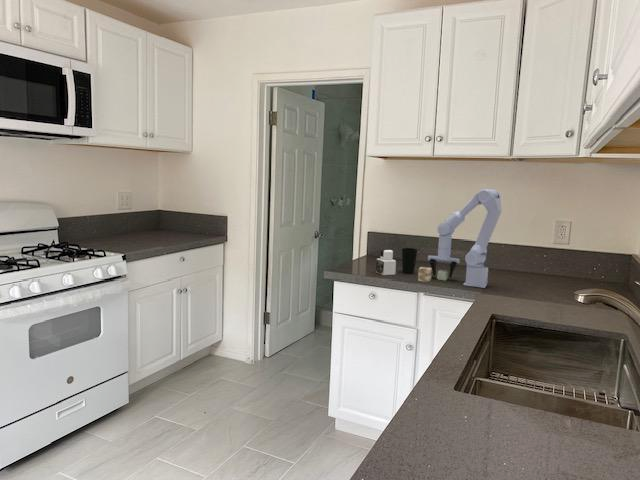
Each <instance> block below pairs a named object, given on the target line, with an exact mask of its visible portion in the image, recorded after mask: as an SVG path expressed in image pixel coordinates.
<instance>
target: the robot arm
mask: <svg viewBox="0 0 640 480" xmlns="http://www.w3.org/2000/svg"><path fill="white" fill-rule="evenodd" d="M501 198H502V197H501V194H500V193H499V191H498V190H497V189H494V188H489V189H488V188H482V189H480V190H479V191H478V192H477V193H475V194H474V196H473V197H472V198H471V199H469V201H468V202H467V203H466V204H465V205H464V206H463V207H462V208H461V209H460V210H459V211H455V212H451V213H450V214H451V215H450V216H449V217H448V218H447V219H444V222H441V223H439V224H438V227H437V233H438V235H439V236H438V247H437V248H438V249H437V255H427V260H428V261H429V265H430V266H431V267H430V268H432V276H434V277H435V276H437V274H436V273H437V271H436V270H437V263H438V262H439V261H440V262H447V263H450V264H449V266H450V267H449V271H450V272H449V278H451V279H452V277H453V273H454V272H455V271H454V270H456V269H455V268H456V267H457V265H458V264H460V263H461V262H460V258H458V257H451V252H452V251H451V249H452V237H453V234H454V233H455V230H456V229H457V228H458V227H459V226H460V225H461V224H462V223H464V222H465V220H466V219H465V218H466V216H467V215H469V214H470V213H471V212H472V211H473V210H474V209H476V207H478V206H480V205H482V206H483V207H484V208H485V209H486V212H487V213H486V215H485V219H484V221H483V223H482V225H481V228H480V231H479V233H478V236H477V238H476V241H475V243H474V245H473V246H472V247H471V248H470V250H469V252H468V253H466V255H465V257H464V260H465V263H466V273H465V282H464V283H463V284H462V285H463V286H467V287H473V288H474V287H475V288H476V287H477V288H481V289H482V288H483V289H485V288H486V287H487V285H488V278H489V277H488V275H489V268H488V267H485V266H484V264H485V262H486V260H487V253H488V248H487V247H488V245H489V243H490V240H491V238H492V235H493V233H494V230H495V227H496V226H497V223H498V220H499V219H500V216H501V213H502V203H501V200H502V199H501Z"/></svg>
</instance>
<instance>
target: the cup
mask: <svg viewBox="0 0 640 480" xmlns="http://www.w3.org/2000/svg"><path fill="white" fill-rule="evenodd" d="M417 256H418V249H417V248H413V247H405V248H404V247H403V248H401V257H402V258H401V259H402V260H401V261H402V273H403V274H409V275H412V274H414V273H415V267H416V261H417Z"/></svg>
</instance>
